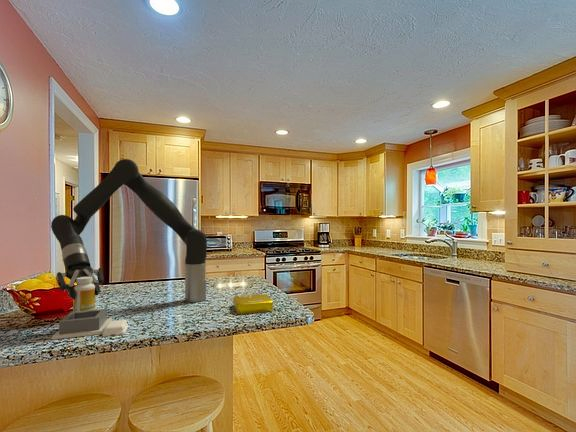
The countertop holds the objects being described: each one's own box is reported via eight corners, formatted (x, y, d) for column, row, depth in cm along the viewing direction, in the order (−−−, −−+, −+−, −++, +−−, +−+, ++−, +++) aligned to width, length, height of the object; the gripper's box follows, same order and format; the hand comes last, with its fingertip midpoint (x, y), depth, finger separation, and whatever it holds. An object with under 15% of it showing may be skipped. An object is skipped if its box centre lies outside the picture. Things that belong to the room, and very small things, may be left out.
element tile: (238, 315, 119) (237, 303, 119) (233, 305, 133) (233, 294, 133) (274, 311, 123) (274, 300, 124) (266, 302, 138) (265, 292, 138)
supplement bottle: (98, 307, 107) (99, 276, 107) (87, 313, 101) (87, 279, 101) (81, 307, 107) (81, 276, 107) (68, 313, 100) (69, 279, 101)
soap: (124, 334, 99) (124, 326, 99) (100, 337, 97) (101, 328, 97) (129, 326, 107) (129, 318, 107) (107, 328, 105) (107, 320, 105)
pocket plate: (111, 320, 112) (112, 307, 113) (103, 333, 99) (103, 318, 99) (67, 325, 108) (67, 311, 108) (51, 339, 94) (52, 323, 95)
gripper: (53, 253, 103) (62, 293, 95) (100, 250, 114) (112, 285, 107) (49, 267, 107) (58, 306, 99) (95, 263, 118) (106, 298, 110)
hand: (86, 295), depth 103 cm, fingers closed on supplement bottle, 6 cm apart
